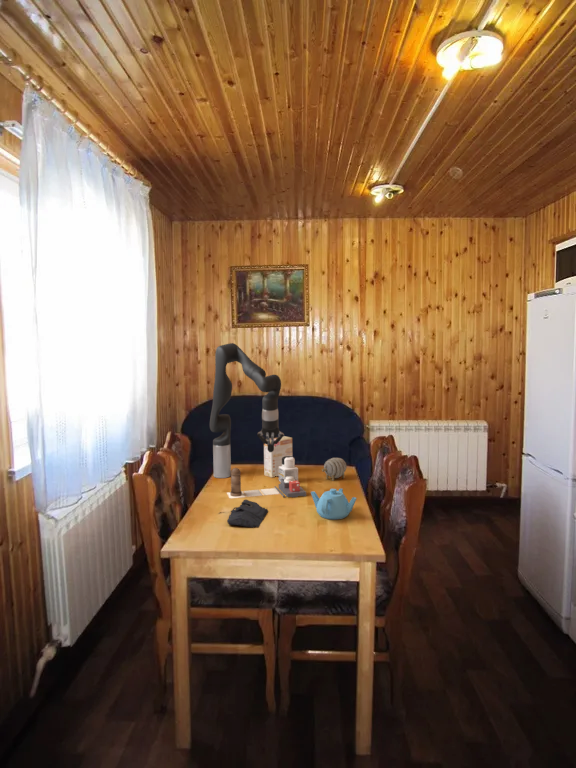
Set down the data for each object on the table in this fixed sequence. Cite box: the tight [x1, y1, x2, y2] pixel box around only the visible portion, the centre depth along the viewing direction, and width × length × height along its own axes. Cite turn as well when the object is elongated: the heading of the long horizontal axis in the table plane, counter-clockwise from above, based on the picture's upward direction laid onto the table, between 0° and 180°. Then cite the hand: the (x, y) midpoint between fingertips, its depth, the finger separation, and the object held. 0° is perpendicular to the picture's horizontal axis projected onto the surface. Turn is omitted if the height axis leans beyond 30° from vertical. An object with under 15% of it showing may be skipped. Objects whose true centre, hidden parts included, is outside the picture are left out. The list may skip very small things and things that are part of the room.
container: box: [278, 455, 299, 483], centre depth 248 cm, size 8×8×13 cm
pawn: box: [230, 467, 243, 497], centre depth 224 cm, size 5×5×13 cm
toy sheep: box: [321, 457, 348, 482], centre depth 253 cm, size 11×17×11 cm, turn 133°
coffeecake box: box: [263, 435, 293, 478], centre depth 263 cm, size 15×7×20 cm, turn 130°
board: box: [226, 486, 285, 499], centre depth 226 cm, size 16×26×1 cm, turn 106°
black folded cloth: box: [226, 499, 269, 529], centre depth 198 cm, size 15×22×5 cm
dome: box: [284, 476, 295, 483], centre depth 235 cm, size 6×6×4 cm
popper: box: [278, 478, 307, 498], centre depth 231 cm, size 16×9×6 cm, turn 16°
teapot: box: [310, 488, 357, 520], centre depth 201 cm, size 15×15×11 cm
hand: (270, 451), depth 229 cm, fingers closed
